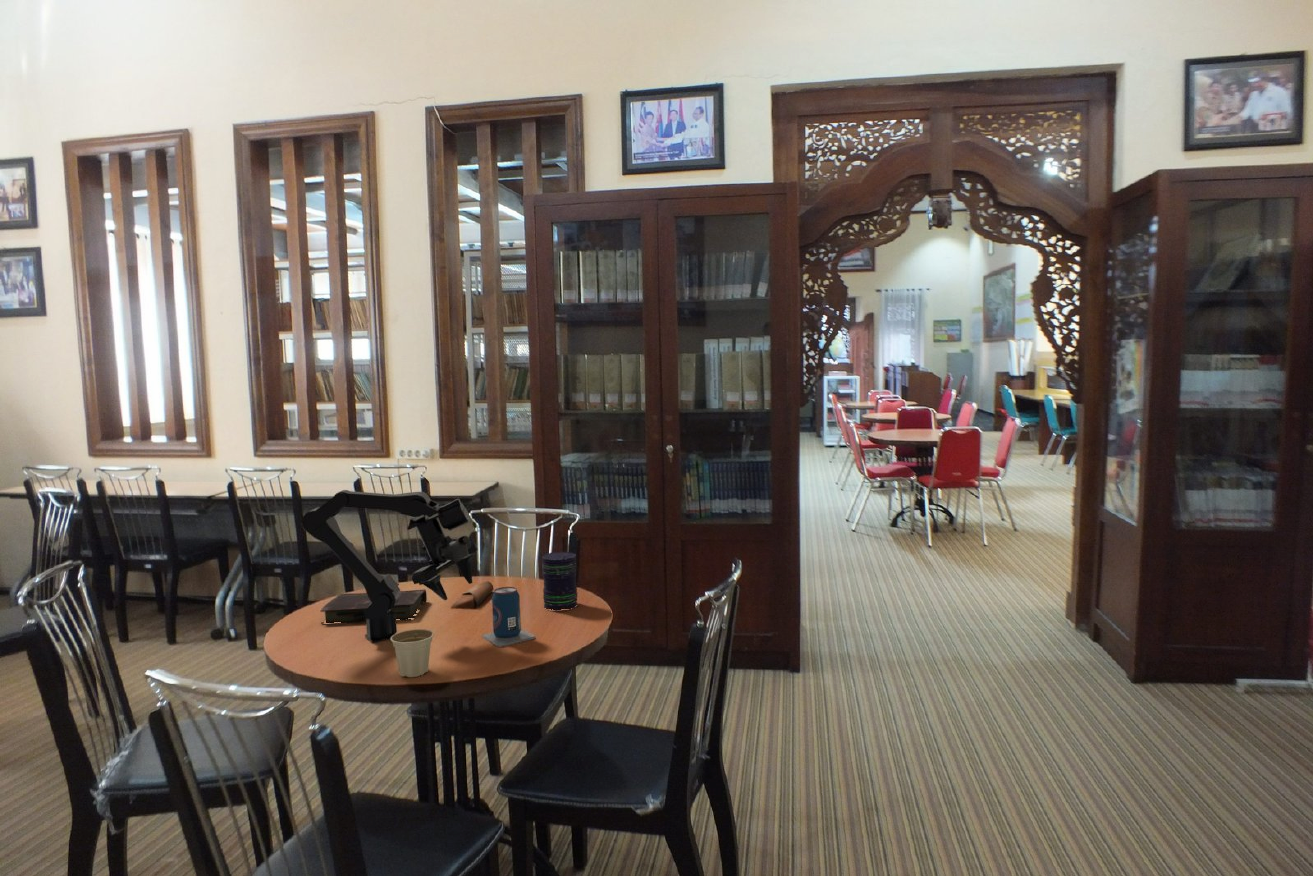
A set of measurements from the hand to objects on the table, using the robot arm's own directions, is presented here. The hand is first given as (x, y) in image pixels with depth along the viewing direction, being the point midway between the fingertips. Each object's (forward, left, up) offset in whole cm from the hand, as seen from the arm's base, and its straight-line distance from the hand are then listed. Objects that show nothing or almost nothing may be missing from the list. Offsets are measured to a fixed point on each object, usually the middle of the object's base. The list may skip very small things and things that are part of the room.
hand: (458, 591), depth 200 cm
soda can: (+7, -13, -11) cm, 18 cm away
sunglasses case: (+15, +26, -12) cm, 32 cm away
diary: (-12, +33, -12) cm, 37 cm away
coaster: (+8, -13, -11) cm, 18 cm away
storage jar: (+32, +2, -11) cm, 34 cm away
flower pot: (-19, -20, -11) cm, 30 cm away
